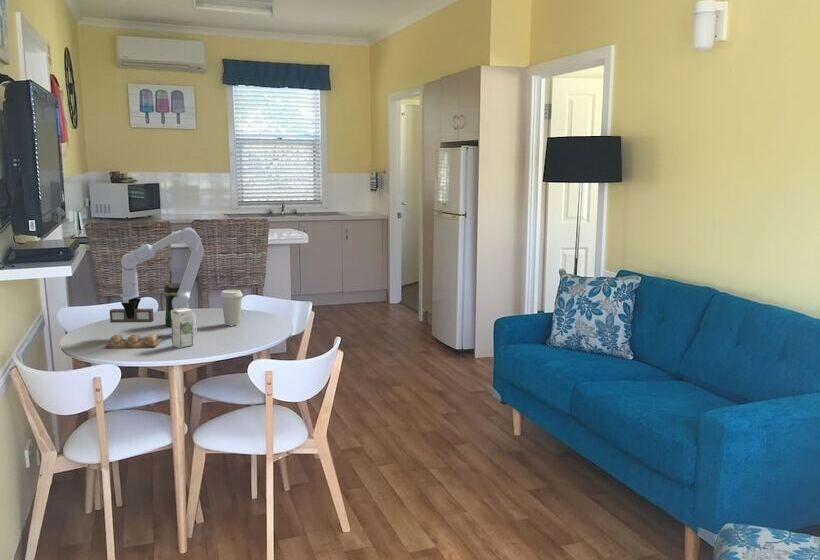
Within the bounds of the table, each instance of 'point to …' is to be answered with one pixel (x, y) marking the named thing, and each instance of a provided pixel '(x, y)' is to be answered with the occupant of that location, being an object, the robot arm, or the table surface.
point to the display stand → (134, 341)
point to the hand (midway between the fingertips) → (131, 317)
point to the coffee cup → (231, 306)
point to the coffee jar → (170, 299)
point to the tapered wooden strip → (139, 316)
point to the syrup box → (182, 327)
